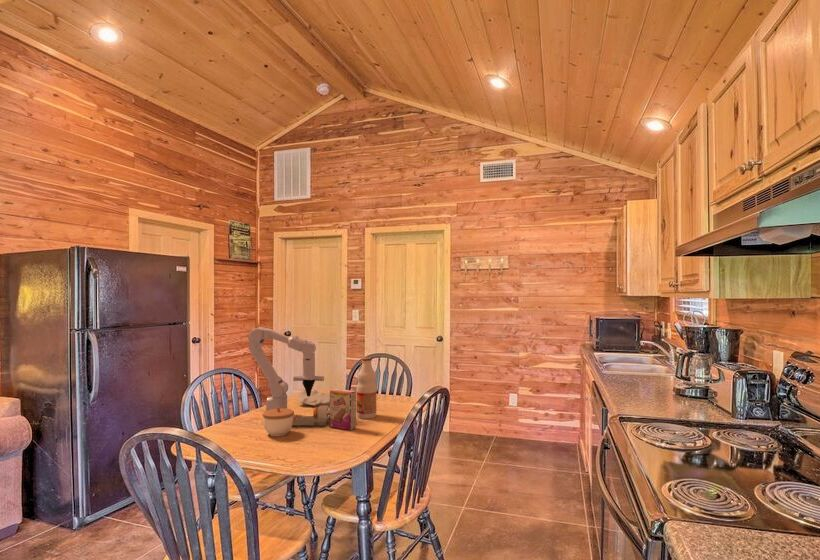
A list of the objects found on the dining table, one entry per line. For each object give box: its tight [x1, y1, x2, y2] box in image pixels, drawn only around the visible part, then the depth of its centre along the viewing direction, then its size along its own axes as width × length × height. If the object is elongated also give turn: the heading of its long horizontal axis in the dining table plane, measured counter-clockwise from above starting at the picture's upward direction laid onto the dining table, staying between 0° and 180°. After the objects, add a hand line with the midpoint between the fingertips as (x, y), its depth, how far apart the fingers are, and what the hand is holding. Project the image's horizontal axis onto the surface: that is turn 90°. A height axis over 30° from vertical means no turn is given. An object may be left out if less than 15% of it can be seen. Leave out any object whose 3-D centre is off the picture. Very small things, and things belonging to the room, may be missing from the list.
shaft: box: [312, 406, 330, 418], centre depth 212 cm, size 9×5×5 cm, turn 91°
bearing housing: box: [291, 406, 330, 428], centre depth 212 cm, size 15×14×7 cm
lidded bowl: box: [262, 407, 295, 437], centre depth 196 cm, size 13×13×11 cm
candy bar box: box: [329, 388, 357, 432], centre depth 204 cm, size 11×5×16 cm, turn 65°
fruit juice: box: [356, 356, 377, 420], centre depth 222 cm, size 9×9×28 cm
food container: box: [296, 388, 330, 408], centre depth 243 cm, size 12×30×6 cm, turn 80°
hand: (308, 395), depth 224 cm, fingers closed
